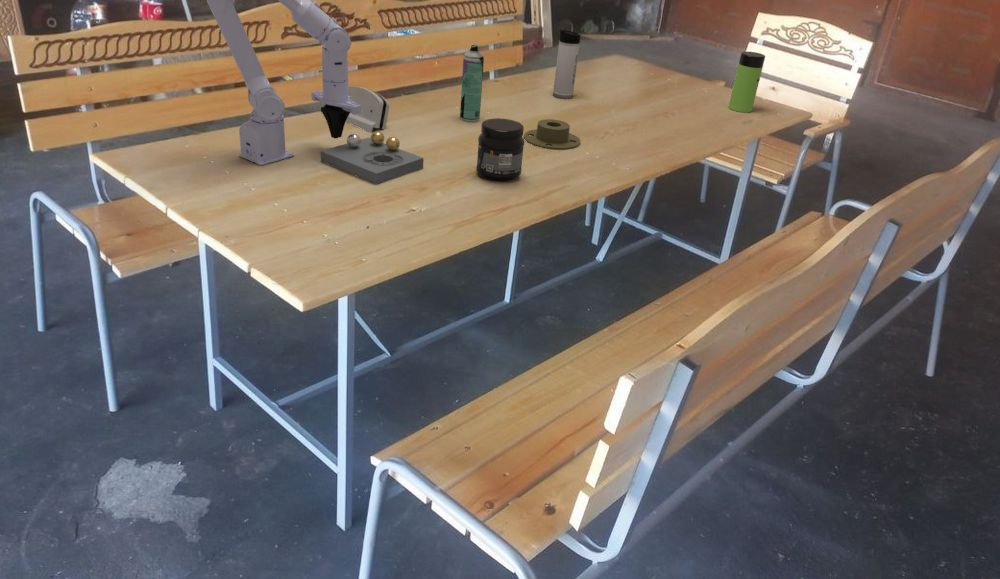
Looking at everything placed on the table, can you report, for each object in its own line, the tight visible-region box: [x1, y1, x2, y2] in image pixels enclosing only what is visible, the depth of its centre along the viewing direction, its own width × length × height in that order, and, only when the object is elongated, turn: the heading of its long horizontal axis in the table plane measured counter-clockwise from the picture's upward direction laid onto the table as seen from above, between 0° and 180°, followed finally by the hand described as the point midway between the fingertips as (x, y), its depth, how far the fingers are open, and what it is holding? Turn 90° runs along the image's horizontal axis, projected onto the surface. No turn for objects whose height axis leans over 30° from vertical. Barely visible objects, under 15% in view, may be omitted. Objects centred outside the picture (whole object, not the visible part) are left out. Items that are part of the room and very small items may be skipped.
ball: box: [346, 133, 361, 148], centre depth 180 cm, size 3×3×3 cm
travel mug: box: [552, 29, 581, 100], centre depth 239 cm, size 6×7×20 cm
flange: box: [523, 118, 581, 151], centre depth 205 cm, size 5×15×15 cm
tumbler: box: [728, 51, 766, 113], centre depth 244 cm, size 8×8×17 cm
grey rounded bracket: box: [346, 85, 390, 133], centre depth 204 cm, size 17×5×10 cm, turn 49°
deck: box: [319, 137, 424, 185], centre depth 179 cm, size 18×15×2 cm
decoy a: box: [370, 130, 385, 145], centre depth 183 cm, size 3×3×3 cm
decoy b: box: [385, 136, 401, 151], centre depth 181 cm, size 3×3×3 cm
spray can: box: [459, 44, 485, 123], centre depth 210 cm, size 6×6×20 cm
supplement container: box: [475, 117, 525, 183], centre depth 178 cm, size 10×10×12 cm
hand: (336, 137), depth 184 cm, fingers closed
